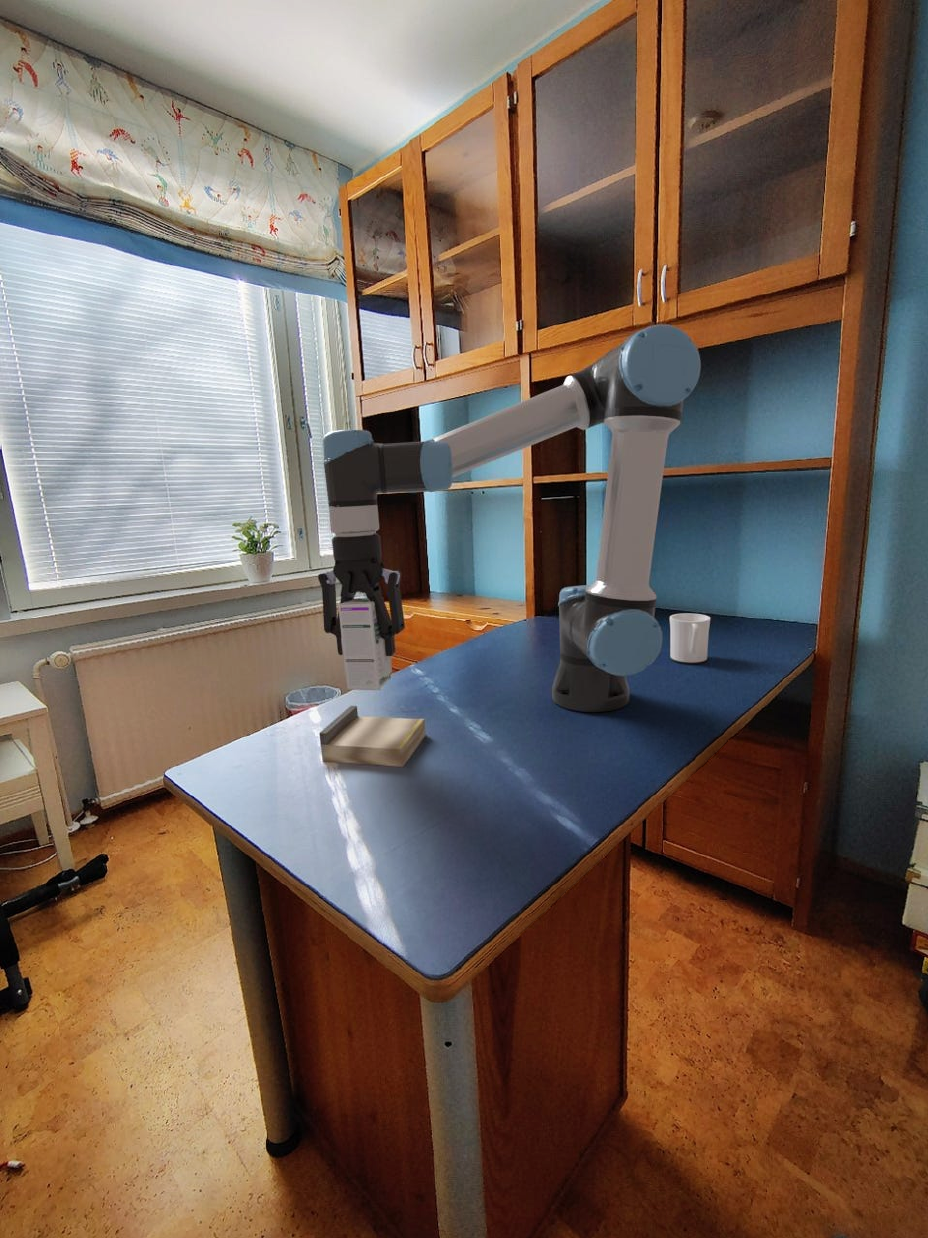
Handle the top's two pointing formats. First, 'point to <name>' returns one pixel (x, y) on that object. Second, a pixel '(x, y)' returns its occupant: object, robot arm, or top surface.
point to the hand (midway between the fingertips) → (368, 673)
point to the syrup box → (361, 644)
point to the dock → (370, 739)
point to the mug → (689, 638)
